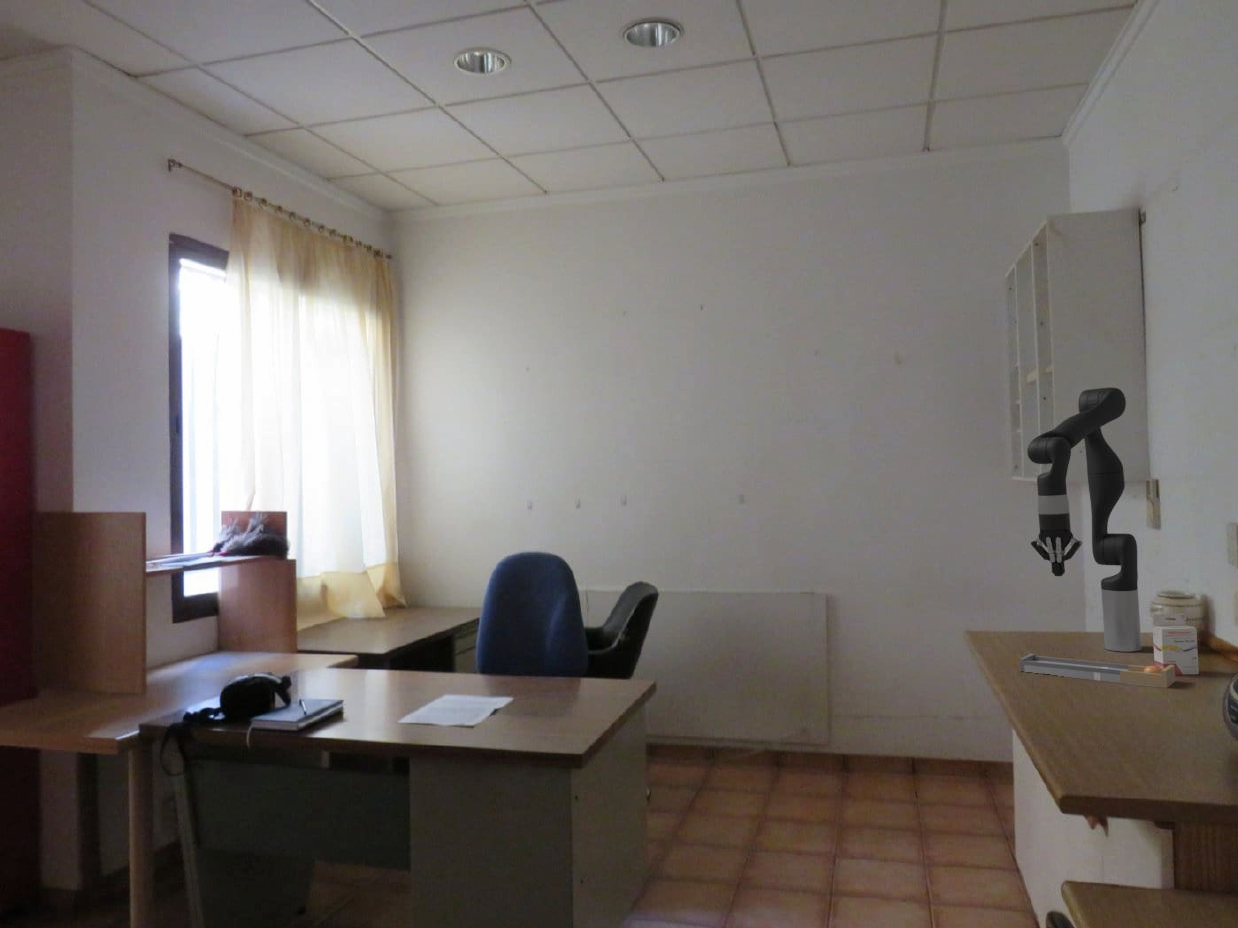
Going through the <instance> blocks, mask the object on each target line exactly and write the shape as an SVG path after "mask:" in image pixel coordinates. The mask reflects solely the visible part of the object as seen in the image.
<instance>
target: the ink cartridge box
mask: <svg viewBox="0 0 1238 928" xmlns="http://www.w3.org/2000/svg"><path fill="white" fill-rule="evenodd" d="M1152 615H1153V616H1152V619H1153V621H1152V624H1153V625H1152V641H1153V657H1154V659H1153V660H1154V666H1156V667H1158V668H1166V667H1167V666H1169V665H1175V676H1176V675H1179V674H1181V675H1199V673H1200V672H1199V653H1198V652H1199V651H1198V632H1197V628H1196V627H1195V626H1192V625H1188V624H1187V614H1186V613H1185V612H1182V613H1175V612H1174V613H1153V614H1152ZM1168 618H1171V619H1174V620H1165V619H1168ZM1179 676H1180V675H1179Z"/></svg>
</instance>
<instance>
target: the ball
mask: <svg viewBox="0 0 1238 928" xmlns="http://www.w3.org/2000/svg"><path fill="white" fill-rule="evenodd" d="M1144 672H1146V673H1156V674H1161V670H1160V669H1159V668H1158V667H1156V666H1155V665H1148V667H1146V668H1145V669H1144Z"/></svg>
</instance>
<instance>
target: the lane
mask: <svg viewBox="0 0 1238 928" xmlns="http://www.w3.org/2000/svg"><path fill="white" fill-rule="evenodd" d="M1019 664H1020V665H1019V666H1020V672H1021V671H1025V672H1033V673H1032V674H1034V673H1045V674H1051V675H1050V676H1052V675H1057V676H1056V677H1061V676H1064V678H1070V677H1071V678H1072V679H1080V680H1081V679H1082V680H1090V681H1099V682H1107V681H1108V682H1109V683H1117V684H1125V683H1126V684H1127V685H1136V686H1146V687H1155V688H1163V689H1168V688H1169V687H1170V686H1171V685H1173V684H1174V683H1176V682H1175V681H1176V675H1175V665H1169V666H1167V667H1166V668H1159V669H1160V670H1161V674H1156V673H1146V672H1144V669H1145V668H1146V667H1148V666H1149V665H1148V666H1146V665H1137V664H1125V663H1118V662H1117V663H1114V662H1105V661H1096V660H1095V661H1093V660H1085V659H1084V660H1083V659H1074V658H1065V657H1064V658H1063V657H1061V658H1060V657H1052V656H1044V655H1042V656H1041V655H1036V653H1029V654H1027V655H1025V656H1023V657H1020V658H1019ZM1025 672H1024V673H1025ZM1126 684H1125V685H1126Z"/></svg>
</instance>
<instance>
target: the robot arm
mask: <svg viewBox="0 0 1238 928" xmlns="http://www.w3.org/2000/svg"><path fill="white" fill-rule="evenodd" d="M1126 405H1127V400H1126V396H1125V394H1124V392H1123V391H1122V390H1121V389H1120V388H1117V387H1101V388H1100V387H1099V388H1091V389H1085V390H1083V391H1082V392H1080V394H1079V398H1078V413H1076V414H1074V415H1072V416H1070V417H1068V418H1066V419H1065V420H1063V421H1062V422H1060V423H1059V424H1058V425H1057V426H1056V427H1055V428H1054V429H1051V430H1049V431H1046V432H1044V433H1042V434H1040V435H1038V436H1036V437H1034V438H1033V439H1032V440H1031V441H1030V442H1029V444H1028V446H1027V449H1026V450H1027V457H1028V458H1029V461H1031V462H1032V463H1034V464H1036V465H1051V464H1052V465H1051V467H1050V470H1049V471H1046V472H1043V473H1040V474H1038V476H1037V477H1036V485H1037V486H1036V487H1037V513H1038V514H1037V515H1038V523H1039V524H1038V525H1039V533H1038V536H1037V537H1038V538H1036V539H1035V540H1033V541H1031V542H1030V545H1031V546H1032V548H1033V549H1034V550H1035V551H1036V552H1037V554H1039V555H1040V556H1041V558H1042V559H1043V560H1044V561H1048V562H1050V563H1051V564H1050V565H1051V574H1052V575H1054V577H1063V575H1064V574H1065V573H1066V567H1065V562H1066V561H1069V560H1071V559H1072V558H1073V556H1074V555H1075V554H1076V553H1077V552H1078V550H1079V549H1080V547H1081V546H1082V545H1083V541H1081V540H1078V539H1076V538H1075V537H1074V534H1073V533H1072V529H1071V528H1072V527H1071V515H1070V503H1069V498H1068V491H1067V476H1068V475H1067V474H1068V469H1069V464H1070V461H1071V456H1072V449H1073V448H1075V447H1076V446H1077V445H1078V444H1080V442H1082V441H1084V448H1085V458H1086V472H1087V483H1088V490H1089V500H1090V501H1089V502H1090V510H1091V547H1092V548H1091V549H1092V554H1093V560H1094V561H1095V563H1096V564H1097V565H1101V566H1118V567H1119V566H1120V569H1119V570H1120V571H1118V573H1116V574H1114V575H1110V576H1107V577H1104V578H1102V579H1100V580H1101V581H1100V588H1101V590H1100V591H1101V603H1102V604H1101V605H1102V618H1103V619H1102V620H1103V622H1102V623H1103V636H1104V637H1103V638H1104V648H1105V650H1108V651H1114V652H1122V653H1123V652H1126V653H1127V652H1139V651H1142V649H1143V648H1142V635H1141V634H1142V633H1141V623H1140V622H1141V619H1140V605H1139V604H1140V603H1139V589H1138V588H1139V587H1138V582H1139V581H1138V579H1139V575H1138V574H1139V573H1138V545H1137V544H1138V543H1137V540H1136V538H1135V536H1134V535H1133V534H1131V533H1114V532H1113V533H1108V526H1109V525H1108V522H1109V519H1110V516H1111V514H1112V512H1113V510H1114V508H1115V506H1116V505H1117V503H1118V502H1119V500H1120V499H1121V497H1122V496H1123V495H1122V494H1123V493H1124V491H1125V485H1126V483H1125V474H1124V466H1123V463H1122V461H1121V459H1120V458H1119V456H1118V455H1117V453H1115V451H1114V450H1113V449H1112V447H1111V446H1110V445H1109V443H1108V442H1107V441H1106V439H1105V436H1103V435H1104V434H1103V433H1102V428H1101V427H1103V426H1105V425H1107V424H1109V423H1111V422H1113V421H1115V420H1116V419H1119V418H1120V417H1121V416H1122V415H1123V414H1124V413H1125V409H1126ZM1069 544H1070V545H1069ZM1043 545H1044V546H1045V548H1047V549H1045V548H1044V546H1043ZM1068 546H1070V548H1069V550H1068V551H1067V552H1066V548H1068Z"/></svg>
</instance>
